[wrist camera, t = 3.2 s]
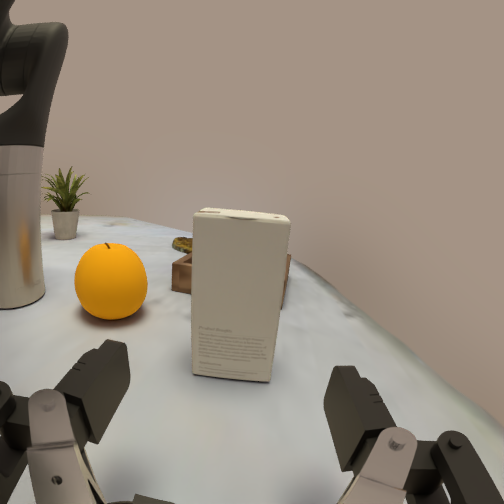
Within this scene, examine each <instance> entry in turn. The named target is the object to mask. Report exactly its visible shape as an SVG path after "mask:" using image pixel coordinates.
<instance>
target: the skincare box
mask: <svg viewBox="0 0 504 504" xmlns="http://www.w3.org/2000/svg"><path fill="white" fill-rule="evenodd" d="M290 228H291V223H290V221H289V219H288V218H287V217H286V216H284V215H277V214H269V213H261V212H252V211H241V210H229V209H217V208H204V209H202V210H200V211H199V212H197V213H195V214H194V216H193V242H192V282H191V342H192V372H193V374H198V375H205V376H213V377H221V378H230V379H240V380H251V381H265V382H269V381H270V379H271V371H272V364H273V358H274V351H275V345H276V338H277V331H278V324H279V317H280V310H281V303H282V295H283V288H284V279H285V271H286V261H287V249H288V241H289V235H290Z"/></svg>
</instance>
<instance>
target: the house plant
mask: <svg viewBox="0 0 504 504" xmlns="http://www.w3.org/2000/svg"><path fill="white" fill-rule="evenodd" d="M71 168H72V167H71ZM71 168H70V170H69V173H68V175H67V178H66V183H65V182H64V178H63V176H62V173H61V170H60V168H59V176H57V175H55V176H56V178H57V182H56V181H55V179H54V178H53V177H52V176H51V177H52V178H53V180H54V182H55V184H56V185H55V184H54V183H53V182H52V181H51V180H50V179H48V178H47V179H48V180H50V181H51V182H52V183H53V185H54V186H55V187H56V186H57V187H56V188H54V187H53V185H52V184H51V183H50V182H49V181H48V182H49V183H50V185H51V186H52V187H53V188H51V187H41V188H45V189H49V190H51V191H54V192H56V195H57V197H55V196H52V195H51V194H50V193H48V194H49V195H48V194H46V195H48V196H49V198H46V199H48V201H49V200H51V199H52V200H53V201H54V202H55V203H56V205H57V206H58V207H59V209H57V210H52V211H51V213H52V220H53V227H54V233H55V238H56V239H58V240H69V239H74V238H76V231H77V224H78V217H79V210H78V209H73V208H74V206H75V204H76V203H77V202H78V201H79V200H81V199H77V198H76V191H77V190H78V188H79V187H80V186H81V185H82V184H83V182H84V181H85V180H86V179H85V180H84V181H83V182H82V183H81V184H80V185H79V183H80V181H81V179H82V178H83V176H84V175H82V176H81V177H80V178H78V179H77V180H76V175H75V177H74V180H73V183H72V186H71V189H70V193H69V182H70V178H71V174H72V173H73V172H71ZM41 177H42V176H41ZM46 181H47V180H46ZM78 185H79V186H78ZM57 193H59V194H60V196H61V198H62V199H61V198H59V196H58V194H57ZM86 193H88V192H86ZM82 194H85V193H82ZM82 194H81V195H82ZM79 196H80V195H79ZM79 196H78V197H79ZM54 197H55V198H56V199H57V200H56V199H54ZM44 198H45V197H44ZM46 199H45V200H46ZM59 201H60V202H59ZM71 202H72V203H71Z"/></svg>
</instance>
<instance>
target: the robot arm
mask: <svg viewBox="0 0 504 504" xmlns="http://www.w3.org/2000/svg"><path fill="white" fill-rule="evenodd" d="M14 1H15V0H0V96H8V95H17V94H23V96H22V97H21V99H20V100H19V101H18V102H17V103H15V104H14V105H13V106H12V107H11V108H9V109H8V110H7V111H5V112H4V113H2V114H0V308H15V307H20V306H24V305H27V304H30V303H32V302H34V301H36V300H38V299H39V298H40V297H42V296H43V294H44V293H45V284H44V275H43V265H42V250H41V227H40V198H41V197H40V196H41V176H42V174H41V173H42V161H43V151H44V149H43V148H44V142H45V133H46V128H47V123H48V117H49V112H50V107H51V102H52V98H53V94H54V90H55V87H56V83H57V80H58V77H59V74H60V71H61V67H62V64H63V61H64V57H65V53H66V49H67V45H68V29H67V27H66V25H64V24H63V23H59V22H50V23H37V24H27V25H18V26H17V25H13V24H12V23H11V21H10V18H9V10H10V8H11V6H12V4H13V3H14ZM129 384H130V368H129V361H128V353H127V346H126V344H125V343H122V342H118V341H113V340H109V339H107V340H105V342H104V343H103V344H102V345H101V346H100V347H99V349H92V350H90V351H88V352H86V353H85V354H83V355H82V357H81V358H80V359H79V360H78V361H77V363H75V365H74V366H73V367H72V369H70V370H69V372H68V373H67V374H66V375H65V376H64V377H63V379H62V380H61V381H60V382H59V383H58V384H57V386H56V387H55V388H54V389H53V390H52V389H43V390H39V391H37V392H35V393H34V394H33V395H32V396H31V397H30V398H28V397H22V396H16V395H13V394H12V391H11V389H10V387H9V385H8V384H6V383H5V382H2V381H0V435H1V436H0V504H7V502H8V500H9V498H10V496H11V494H12V492H13V490H14V488H15V486H16V485H17V483H18V481H19V479H20V477H21V475H22V473H23V471H24V470H25V468H26V466H27V464H28V465H29V471H30V477H31V482H32V487H33V491H34V496H35V500H36V504H174V503H172V502H167V501H163V500H158V499H154V498H150V497H146V496H142V495H138V494H135V496H134V499H133V502H132V501H120V502H112V503H107V502H106V500H105V498H104V496H103V494H102V492H101V490H100V488H99V486H98V483H97V481H96V478H95V475H94V473H93V470H92V467H91V464H90V462H89V459H88V456H87V453H86V450H85V448H84V447H85V445H86V443H87V441H89V442H92V443H95V444H99V442H100V440H101V438H102V436H103V434H104V432H105V430H106V428H107V427H108V425H109V423H110V421H111V419H112V417H113V415H114V413H115V412H116V410H117V408H118V406H119V404H120V402H121V400H122V399H123V397H124V395H125V393H126V391H127V390H128V387H129ZM324 411H325V414H326V418H327V421H328V425H329V428H330V432H331V435H332V439H333V442H334V446H335V449H336V453H337V456H338V460H339V464H340V467H341V471H342V472H346V471H353V474H354V477H353V478H352V480H351V482H350V483H349V485H348V486H347V488H346V490H345V491H344V493H343V494H342V496H341V497H340V499H339V501H338V502H337V504H403V501H404V499H405V497H406V500H407V503H408V504H450V503H449V500H448V498H447V496H446V493H445V491H444V489H443V486H442V484H443V483H444V484H445V486H446V488H447V491H448V493H449V495H450V498H451V504H504V501H503V499H502V497H501V495H500V493H499V491H498V489H497V488H496V486H495V484H494V482H493V480H492V478H491V477H490V475H489V473H488V471H487V470H486V468H485V466H484V464H483V463H482V461H481V459H480V458H479V456H478V454H477V453H476V451H475V449H474V448H473V446H472V444H471V443H470V441H469V440H468V438H467V437H466V436H465V435H464V434H462V433H460V432H457V431H446V432H444V433H442V434H441V435H440V436H439V438H438V439H437V441H419V440H416V438H415V436H414V435H413V434H412V433H411V432H410V431H408V430H406V429H404V428H400V427H397V426H396V424H395V422H394V420H393V418H392V416H391V415H390V413H389V411H388V409H387V407H386V405H385V403H383V400H382V398H381V396H379V392H378V391H377V389H376V387H375V385H374V384H373V383H371V382H370V381H369V380H368V379H367V378H361V377H360V375H359V373H358V371H357V369H356V368H355V366H335V367H334V368H333V371H332V374H331V377H330V380H329V383H328V387H327V390H326V393H325V396H324Z"/></svg>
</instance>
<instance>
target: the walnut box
mask: <svg viewBox="0 0 504 504" xmlns="http://www.w3.org/2000/svg"><path fill="white" fill-rule="evenodd" d="M290 260H291V255H289V254H287V261H286V271H285V279H284V288H283V295H282V303H281V310H282V305H283V300H284V295H285V290H286V285H287V279H288V274H289V267H290ZM191 282H192V252H191V253H189V254H187V255H186V256H184V257H182V258H180V259H179V260H177V261H175V262H173V263H172V290H173V291H178V292H183V293H188V294H191Z"/></svg>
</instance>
